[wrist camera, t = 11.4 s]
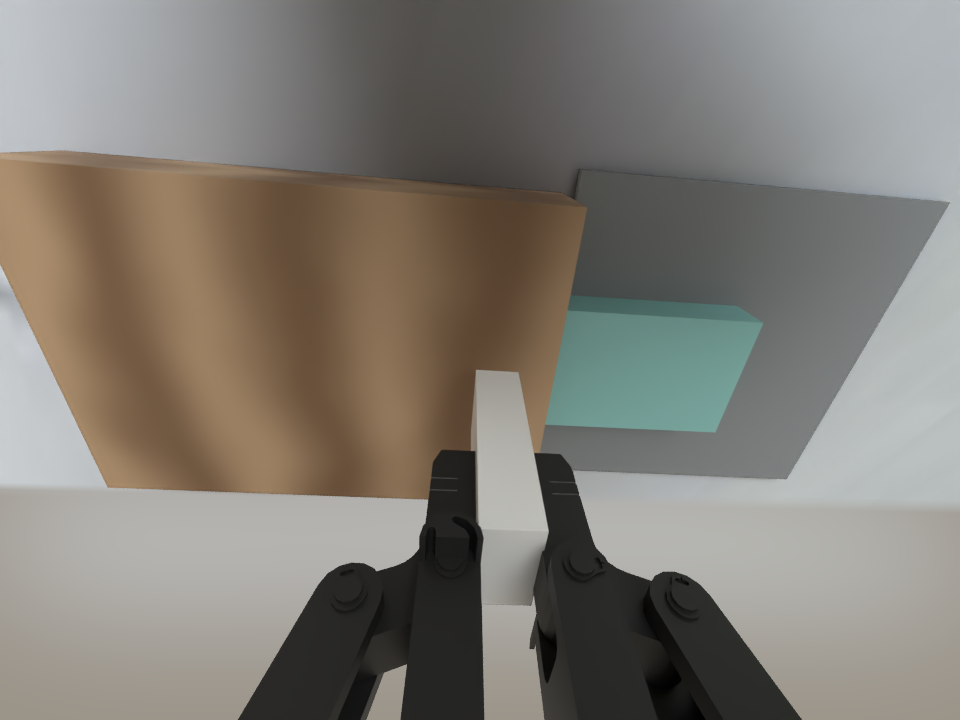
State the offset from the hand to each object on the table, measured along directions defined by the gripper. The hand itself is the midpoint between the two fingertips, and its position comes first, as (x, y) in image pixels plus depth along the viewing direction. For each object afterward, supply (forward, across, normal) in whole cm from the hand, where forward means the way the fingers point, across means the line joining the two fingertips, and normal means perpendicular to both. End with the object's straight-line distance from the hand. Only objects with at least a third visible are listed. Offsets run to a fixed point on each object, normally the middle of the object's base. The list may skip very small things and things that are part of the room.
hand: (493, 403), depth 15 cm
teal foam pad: (+6, +7, -1) cm, 9 cm away
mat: (+6, +11, -1) cm, 13 cm away
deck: (+6, -7, 0) cm, 10 cm away
